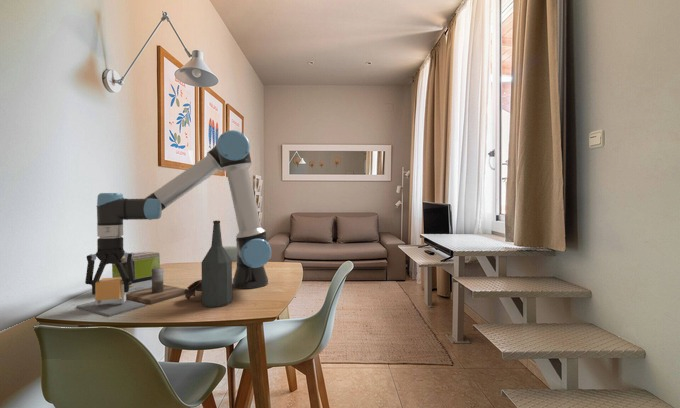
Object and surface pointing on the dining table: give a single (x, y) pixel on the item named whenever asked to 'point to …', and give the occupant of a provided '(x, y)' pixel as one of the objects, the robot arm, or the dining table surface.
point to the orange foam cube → (108, 288)
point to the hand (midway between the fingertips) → (111, 302)
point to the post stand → (156, 290)
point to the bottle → (216, 273)
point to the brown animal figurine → (193, 289)
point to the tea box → (140, 269)
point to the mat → (111, 307)
